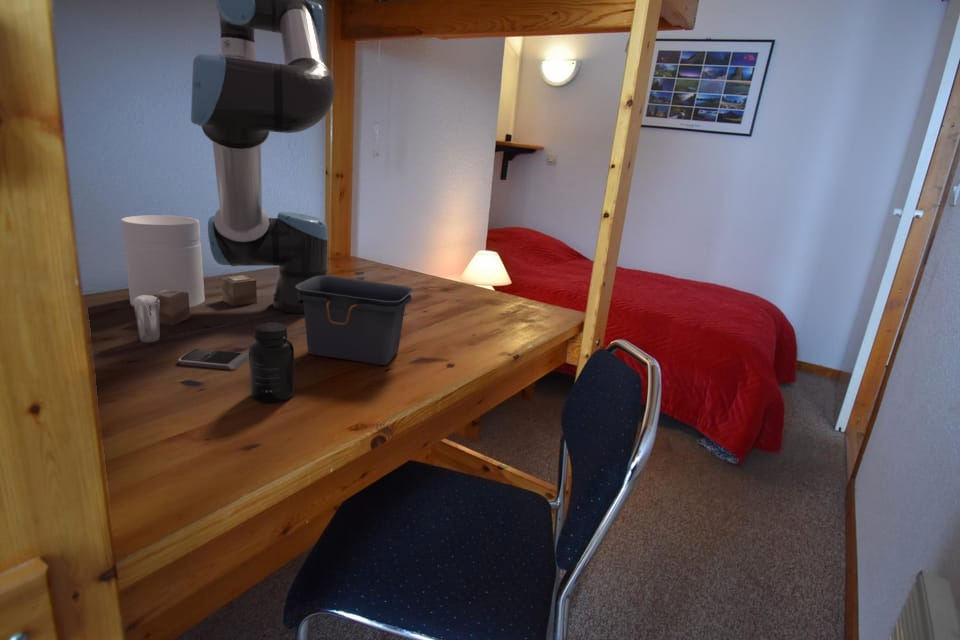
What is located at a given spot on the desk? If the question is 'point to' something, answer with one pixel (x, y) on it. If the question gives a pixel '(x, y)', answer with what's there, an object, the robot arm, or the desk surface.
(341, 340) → the storage bin
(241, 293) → the walnut block right
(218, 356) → the cell phone
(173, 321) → the walnut block left
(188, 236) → the canister
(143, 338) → the milkshake
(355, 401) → the desk surface
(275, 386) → the supplement bottle
